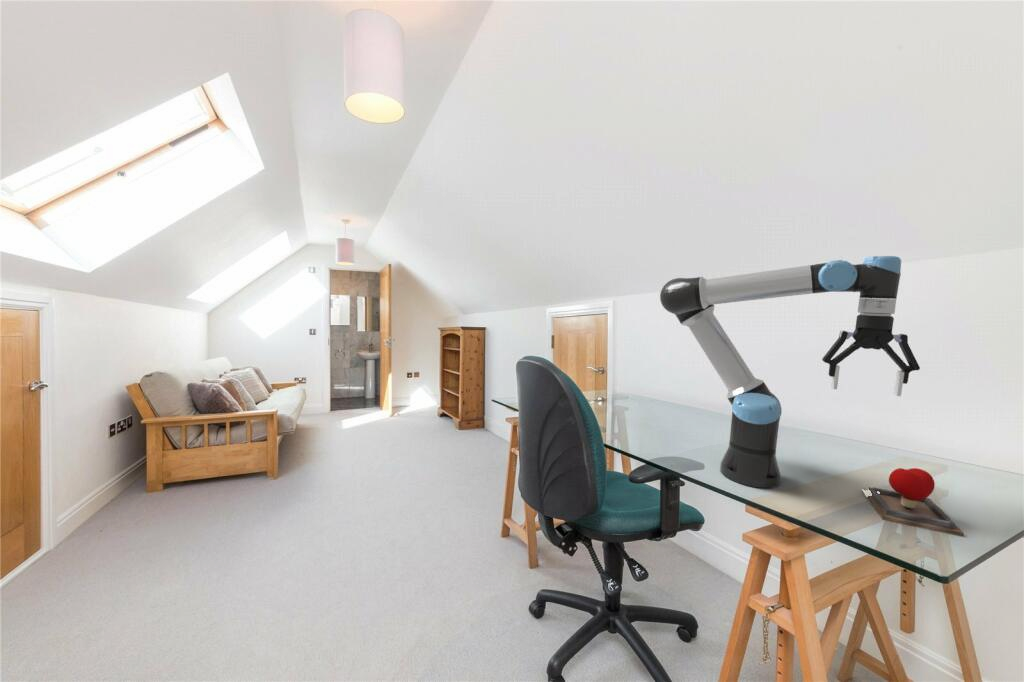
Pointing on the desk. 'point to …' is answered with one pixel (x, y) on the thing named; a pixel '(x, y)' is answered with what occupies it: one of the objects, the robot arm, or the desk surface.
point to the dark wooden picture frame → (911, 512)
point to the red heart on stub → (911, 485)
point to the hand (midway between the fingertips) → (864, 391)
